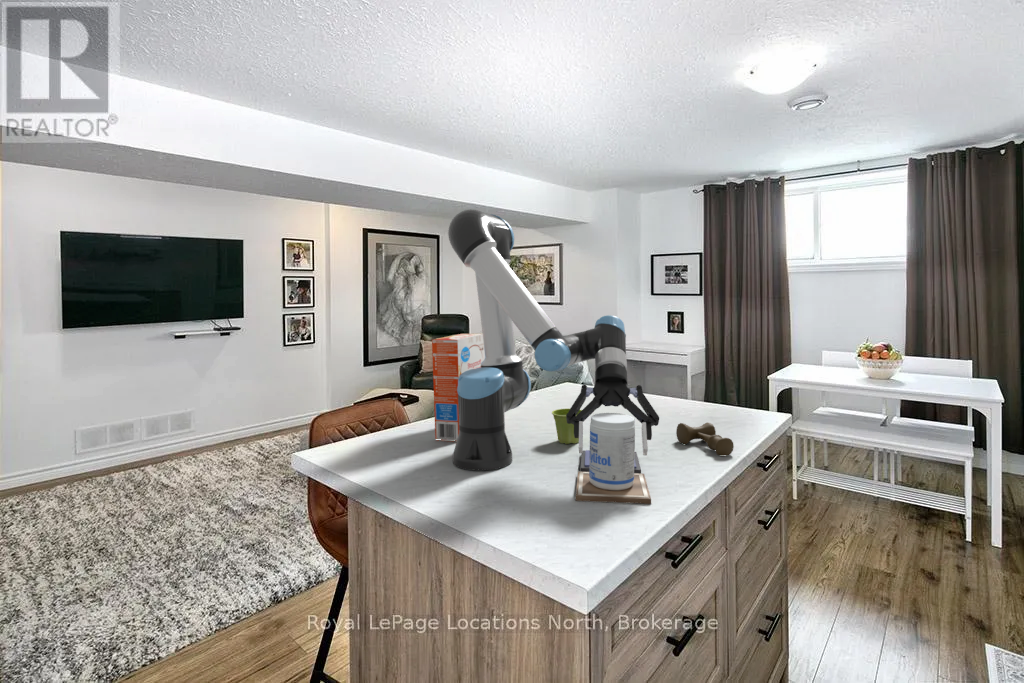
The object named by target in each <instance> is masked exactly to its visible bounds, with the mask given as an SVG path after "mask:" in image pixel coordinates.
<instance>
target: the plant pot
mask: <svg viewBox="0 0 1024 683" xmlns="http://www.w3.org/2000/svg"><path fill="white" fill-rule="evenodd" d="M569 410H570V408H558V409H555V410H552V411H551V414H552V415H553V419H554V423H555V429H556V436H557V442H559V443H560V444H563V443H565V445H570V444H579V438H575V437H574V425H573V424H568V423H567V420H566V415H567V413H568V412H569ZM582 410H583V409H580V410H579V412H578V413H577V415H578V414H579V413H580V412H581V411H582Z"/></svg>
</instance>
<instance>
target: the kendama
mask: <svg viewBox="0 0 1024 683" xmlns="http://www.w3.org/2000/svg"><path fill="white" fill-rule="evenodd" d="M716 432H717V430H716V427H715V426H714V424H713V423H711V422H705V423H703V424H702V425H699V426H697V427H696V426H694V427H693V426H690V425H687V424H686V423H684V422H683V423H682V422H680V423H678V424H677V426H676V435H675V436H676V439H677V441H678V443H680V444H681V443H683V444H686V445H687V444H689V443H690V442H691V441H693V440H702V441H704V442H705V443H706V444H707V447H708V449H710V451H715V450H716V451H715V453H716V455H717V456H719V455H729V456H730V455H731V454H733V453H732V452H733V451H734V447H735V446H734V445H735V444H734V441H733V440H732V439H731V438H729V437H722V436H721V434H720V435H719V434H717V433H716ZM683 444H682V445H683Z"/></svg>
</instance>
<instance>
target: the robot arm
mask: <svg viewBox="0 0 1024 683" xmlns="http://www.w3.org/2000/svg"><path fill="white" fill-rule="evenodd" d="M447 231H448V233H447V234H448V235H447V236H448V240H449V243H450V245H451V248H452V249H453V251H454V252H455V254H456V255H457V256H458V258H459V259H460V260H461V262H462V264H464V266H465V267H466V268H469V269H470V268H471V270H473V271H474V273H475V274H474V275H475V282H476V290H477V291H476V292H477V298H478V307H479V314H480V315H479V316H480V323H481V325H480V326H481V331H482V332H481V334H483V342H484V351H485V359H484V360H483V362H482V363H481V368H476V369H471V370H468V371H465V372H463V373H462V374H461V375H460V376H459V378H458V387H457V392H458V410H459V435H458V439H457V442H456V443H455V445H454V449H453V453H452V463H453V466H455V467H457V468H459V469H463V470H467V471H491V470H492V471H493V470H497V469H502V468H505V467H508V466H509V465H510V464H511V463H512V462H513V451H512V448H511V445H510V441H509V440H508V436H507V433H506V428H505V427H506V426H505V425H506V424H505V423H506V422H505V413H506V412H508V411H511V410H513V409H516V408H518V407H519V406H521V405H522V404H523V403H524V402H525V401H526V400H527V399H528V397H529V395H530V393H531V389H532V383H531V382H532V381H531V377H530V376H529V374H528V372H527V371H526V370H525V369H524V365H523V364H524V363H523V359H522V358H521V357H520V356H518V354H517V352H516V350H517V349H516V344H515V336H514V327H513V326H514V325H515V326H516V328H517V329H518V330H519V332H520V334H522V336H523V337H524V339H525V340H526V342H528V344H529V345H530V346H531V348H532V349H533V350H534V359H535V363H536V364H537V365H538V367H539V368H541V370H543V371H546V372H550V373H551V372H558V371H562V370H564V369H566V368H568V367H570V366H572V365H576V364H577V363H582V362H586V361H591V360H594V370H595V371H594V386H593V387H592V386H591V387H588V386H587V385H586V384H582V385H581V387H580V388H581V389H580V393H579V394H578V395H577V397H576V399H575V401H574V402H573V404H572V405H571V407H570V408H569V409H570V410H569V412H568V413H567V415H566V420H567V423H568V424H573V425H574V437H575V438H579V442H578V454H582V453H583V451H584V450H583V446H584V445H583V442H584V436H583V435H584V431H583V430H584V424H583V423H584V422H585V421H586V420H587V419H588V418H589V416H590V417H591V416H592V414H594V412H595V411H596V410H597V409H599V408H601V406H602V405H603V406H604V407H612V406H613V407H619V406H622V407H623V408H624V409H625V410H627V411H628V412H629V413H630V414H631V415H632V417H633V418H634V419H636V420H637V421H639V423H641V440H642V441H641V442H642V455H643V456H647V455H648V450H649V449H648V441H651V440H652V436H653V433H652V430H653V429H652V427H653V426H655V427H656V426H658V425H659V423H660V415H659V414H658V413H657V412H656V410H655V409H654V407H653V405H651V402H650V401H649V399H648V398H647V397H646V395H645V394H644V392H643V387H642V385H641V384H638V385H636V387H630V386H629V385H628V371H627V370H628V362H627V350H626V348H627V347H626V346H627V344H626V342H627V341H626V338H627V334H626V330H625V323H624V321H623V320H622V319H621V318H620V317H618V316H615V315H611V314H608V315H603V316H601V317H600V318H598V319H597V320H595V324H594V328H590V329H586V330H584V331H580V332H575V333H571V334H566V335H563V334H562V333H561V331H560V330H559V329H558V328H557V326H556V325H555V323H554V322H553V321H552V320H551V318H550V317H549V315H548V314H547V313H546V311H545V310H544V309H543V308H542V307H541V305H540V304H539V303H538V302H537V300H536V299H535V297H534V296H533V295H532V294H531V292H530V291H529V290H528V289H527V287H526V286H525V285H524V284H523V282H522V281H521V279H520V278H519V277H518V276H517V274H516V273H515V271H514V270H513V269H512V268H511V267H510V263H512V262H511V260H512V258H511V252H512V249H513V248H514V246H515V234H514V230H513V228H512V227H511V225H510V224H509V222H507V221H506V220H505V219H503V218H502V217H500V216H498V215H496V214H492V213H491V214H490V213H487V212H483V211H480V210H477V209H473V208H471V209H465V210H462V211H460V212H458V213H457V214H456V215H454V217H453V218H452V219H451V222H450V224H449V226H448V230H447ZM513 324H514V325H513ZM590 395H593V396H594V397H593V398H592V400H591V401H590V402H589V403H588V404H587V405H585V407H584V408H582V407H583V405H584V403H585V401H586V399H587V398H589V397H590ZM630 395H632V396H633V397H634V398H635V399H636V400H637V402H638V404H639V405H640V407H641V408H642V409H641V408H639V406H637V404H635V403H634V402H633V401H632V400H631V397H630ZM581 408H582V409H581ZM579 410H582V411H581V412H580V413H579V414H578V415H577V413H578V412H579Z"/></svg>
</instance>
